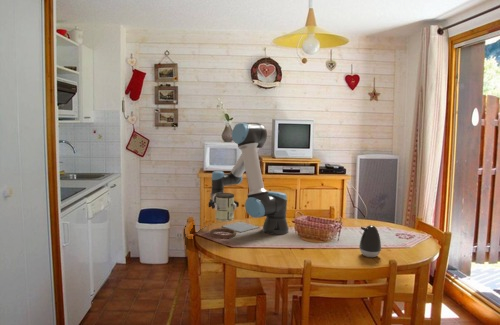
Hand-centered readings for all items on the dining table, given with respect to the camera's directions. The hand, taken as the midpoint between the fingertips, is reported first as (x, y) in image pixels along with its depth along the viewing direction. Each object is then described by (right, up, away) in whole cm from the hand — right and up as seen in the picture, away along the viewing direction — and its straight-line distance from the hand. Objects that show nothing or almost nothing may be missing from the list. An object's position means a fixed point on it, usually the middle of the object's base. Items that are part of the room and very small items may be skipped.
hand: (226, 207), depth 218 cm
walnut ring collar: (-2, -16, +5) cm, 16 cm away
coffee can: (-1, -7, +5) cm, 9 cm away
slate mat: (+7, -14, +21) cm, 26 cm away
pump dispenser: (+72, -21, -23) cm, 78 cm away
